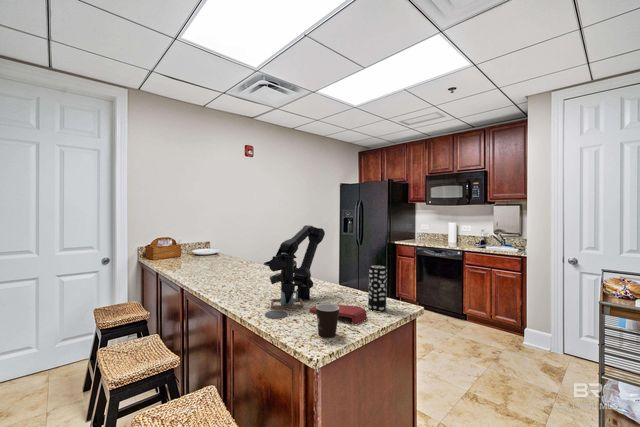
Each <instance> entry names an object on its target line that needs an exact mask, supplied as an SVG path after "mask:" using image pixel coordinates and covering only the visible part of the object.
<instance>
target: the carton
mask: <svg viewBox="0 0 640 427" xmlns="http://www.w3.org/2000/svg"><path fill="white" fill-rule="evenodd" d="M333 305H337V306H338V307H339V314H338V317H345V318H349V319H351V324H352V323H353V325H355V324H357V325H359V324H361V323H363V322H365V321H367V320H368V316H367V310H366V309H365V308H363V307H362V306H359V305H358V306H357V305H347V304H346V305H345V304H335V303H334V304H333ZM316 306H317V305H316ZM316 306H312V307H310V308H309V309H308V310H309V313H311V314H317V313H316ZM366 319H367V320H366ZM364 320H365V321H364ZM362 321H363V322H362ZM360 322H361V323H360ZM358 323H359V324H358Z"/></svg>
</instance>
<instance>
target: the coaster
mask: <svg viewBox="0 0 640 427" xmlns="http://www.w3.org/2000/svg"><path fill="white" fill-rule="evenodd" d="M288 316H289V313H288V312H287V311H285V310H280V309H273V310H269V311H267V312H265V313H264V317H265V318H267V319H271V320H279V319H280V320H281V319H285V318H287V317H288Z"/></svg>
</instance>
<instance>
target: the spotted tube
mask: <svg viewBox="0 0 640 427" xmlns="http://www.w3.org/2000/svg"><path fill="white" fill-rule="evenodd" d="M387 284H388V267H387V266H385V265H376V264H375V265H373V264H372V265H369V266H368V297H367V299H368V303H367V310H369V311H370V310H372V311H371V312H373V311H384V312H386V311H387V292H388V290H387V286H388V285H387ZM385 310H386V311H385Z"/></svg>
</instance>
